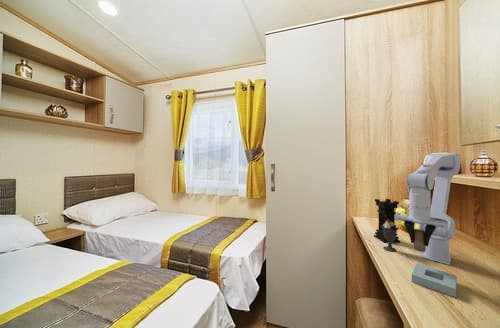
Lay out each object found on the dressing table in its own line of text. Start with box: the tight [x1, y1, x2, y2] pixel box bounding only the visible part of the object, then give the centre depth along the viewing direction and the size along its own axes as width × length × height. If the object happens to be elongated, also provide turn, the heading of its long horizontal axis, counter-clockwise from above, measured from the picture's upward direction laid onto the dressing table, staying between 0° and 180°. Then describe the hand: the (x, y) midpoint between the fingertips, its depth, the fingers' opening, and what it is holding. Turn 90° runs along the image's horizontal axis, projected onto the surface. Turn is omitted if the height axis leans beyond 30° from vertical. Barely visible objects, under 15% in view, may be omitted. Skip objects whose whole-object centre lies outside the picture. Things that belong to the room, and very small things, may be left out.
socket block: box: [411, 263, 458, 298], centre depth 63 cm, size 10×10×2 cm
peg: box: [413, 228, 426, 253], centre depth 70 cm, size 3×3×7 cm
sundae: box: [381, 215, 400, 253], centre depth 87 cm, size 7×7×15 cm
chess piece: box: [373, 198, 401, 244], centre depth 98 cm, size 8×8×20 cm
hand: (419, 243), depth 70 cm, fingers closed on peg, 3 cm apart
